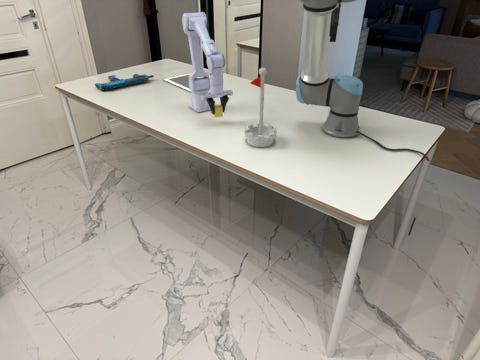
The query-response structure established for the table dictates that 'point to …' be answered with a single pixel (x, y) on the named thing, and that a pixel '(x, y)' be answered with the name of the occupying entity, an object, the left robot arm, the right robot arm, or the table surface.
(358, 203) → the table surface
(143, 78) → the submachine gun
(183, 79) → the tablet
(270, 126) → the flag stand
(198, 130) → the table surface
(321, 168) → the table surface
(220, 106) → the tin
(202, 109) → the left robot arm
